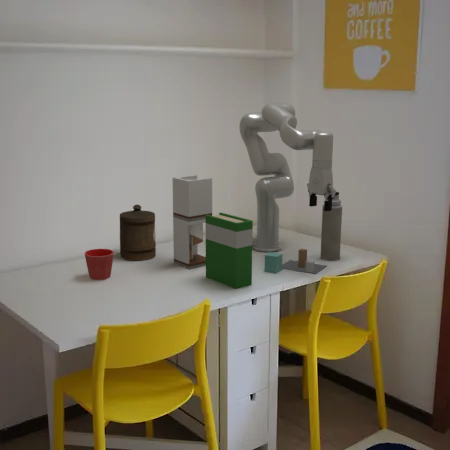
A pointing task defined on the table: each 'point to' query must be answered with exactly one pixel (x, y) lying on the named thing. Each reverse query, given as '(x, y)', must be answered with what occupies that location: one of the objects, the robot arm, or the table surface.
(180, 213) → the white coffee maker
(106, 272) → the flower pot
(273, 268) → the teal rectangular block
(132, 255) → the wooden container
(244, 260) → the hardback book
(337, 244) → the thermos bottle
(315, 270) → the post stand
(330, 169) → the robot arm
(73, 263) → the table surface
